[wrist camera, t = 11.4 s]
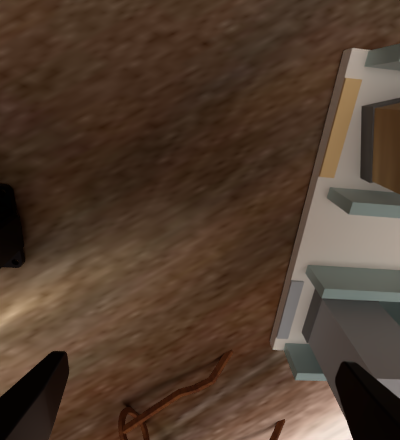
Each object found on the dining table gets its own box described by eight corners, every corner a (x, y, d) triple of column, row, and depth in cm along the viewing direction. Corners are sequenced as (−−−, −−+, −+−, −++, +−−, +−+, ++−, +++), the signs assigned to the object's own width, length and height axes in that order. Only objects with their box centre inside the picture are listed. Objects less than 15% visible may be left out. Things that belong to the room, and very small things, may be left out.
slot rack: (269, 340, 27) (282, 380, 23) (343, 50, 17) (385, 38, 14) (361, 344, 27) (388, 383, 24) (480, 66, 18) (555, 59, 14)
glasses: (120, 396, 30) (108, 451, 25) (230, 345, 27) (239, 395, 23) (187, 456, 35) (187, 512, 30) (286, 417, 32) (302, 470, 28)
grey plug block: (301, 332, 25) (348, 430, 18) (314, 288, 23) (373, 377, 16) (352, 334, 25) (419, 430, 18) (370, 291, 24) (452, 379, 16)
